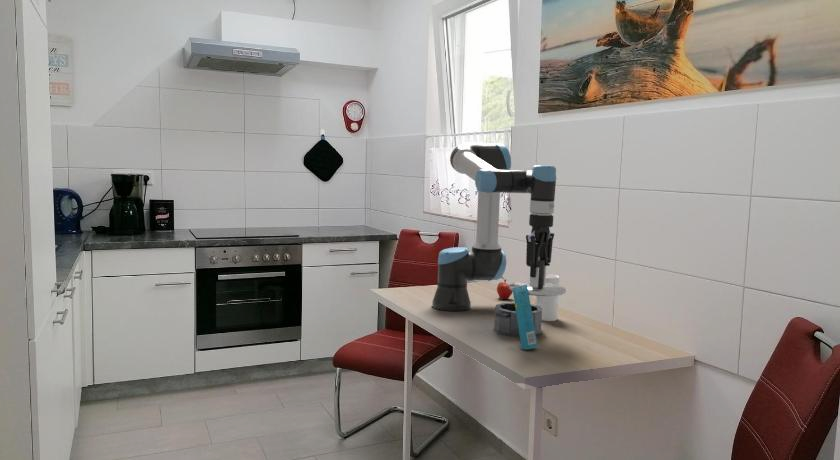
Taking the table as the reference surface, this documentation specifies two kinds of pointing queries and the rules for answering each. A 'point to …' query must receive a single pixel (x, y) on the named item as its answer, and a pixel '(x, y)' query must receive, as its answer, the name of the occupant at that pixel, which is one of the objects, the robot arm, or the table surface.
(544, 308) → the cup
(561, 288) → the lid
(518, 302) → the tube
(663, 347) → the table surface
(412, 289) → the table surface
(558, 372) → the table surface
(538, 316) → the pot
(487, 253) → the robot arm
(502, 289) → the apple
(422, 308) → the table surface
